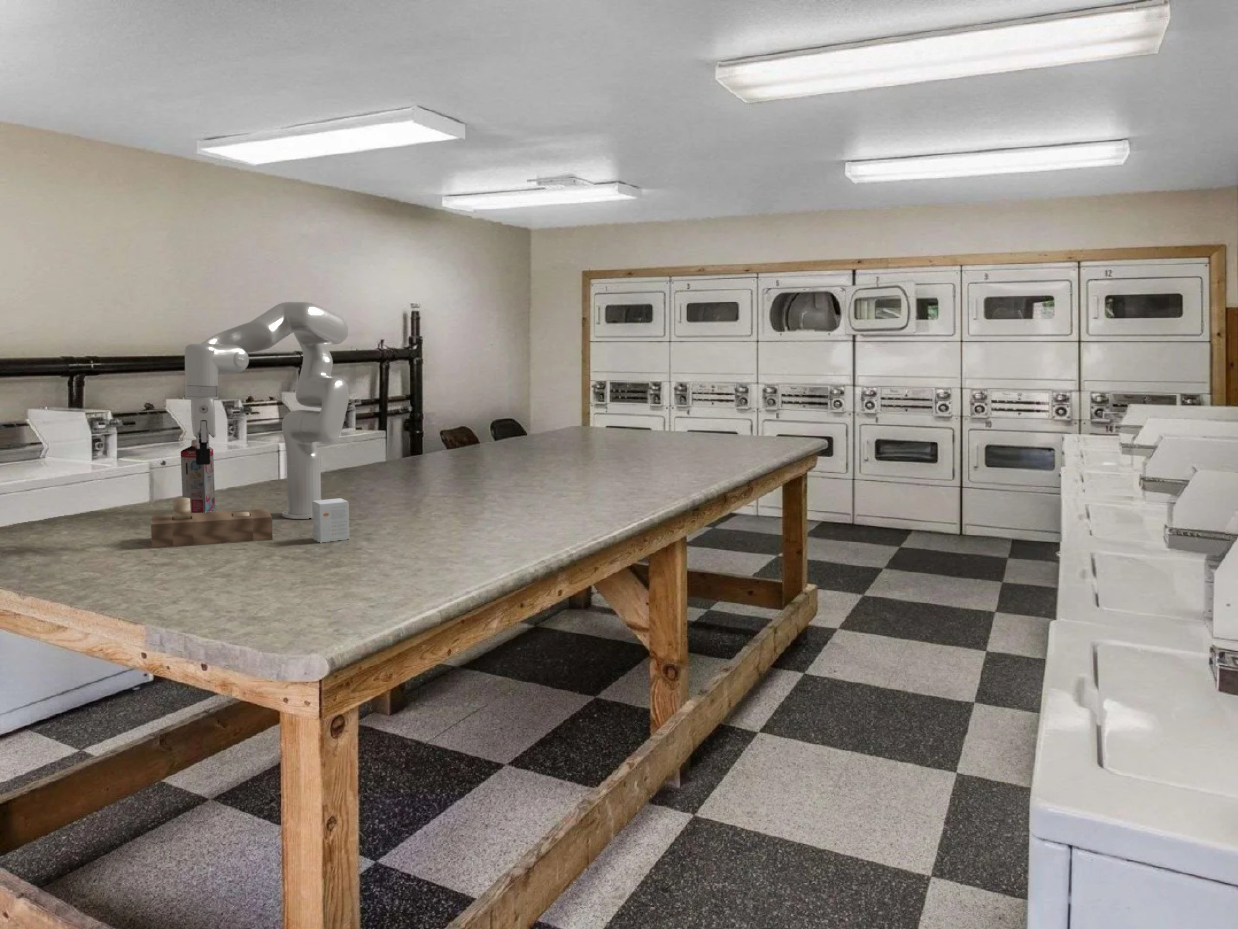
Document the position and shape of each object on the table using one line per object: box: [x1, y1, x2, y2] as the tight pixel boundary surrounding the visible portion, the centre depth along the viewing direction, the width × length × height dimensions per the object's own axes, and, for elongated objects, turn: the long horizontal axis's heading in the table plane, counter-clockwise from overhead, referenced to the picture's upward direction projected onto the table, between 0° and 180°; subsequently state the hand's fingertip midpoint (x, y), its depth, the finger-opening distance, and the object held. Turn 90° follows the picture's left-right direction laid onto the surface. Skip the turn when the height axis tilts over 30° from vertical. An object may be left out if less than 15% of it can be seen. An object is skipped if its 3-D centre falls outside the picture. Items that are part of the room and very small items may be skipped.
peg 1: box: [172, 497, 191, 520], centre depth 223 cm, size 4×4×6 cm
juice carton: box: [180, 439, 216, 513], centre depth 260 cm, size 7×7×22 cm
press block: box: [150, 508, 274, 549], centre depth 227 cm, size 28×12×6 cm, turn 117°
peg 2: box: [233, 512, 250, 517], centre depth 230 cm, size 4×4×6 cm
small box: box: [311, 497, 350, 544], centre depth 230 cm, size 8×6×10 cm
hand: (203, 464), depth 224 cm, fingers closed
